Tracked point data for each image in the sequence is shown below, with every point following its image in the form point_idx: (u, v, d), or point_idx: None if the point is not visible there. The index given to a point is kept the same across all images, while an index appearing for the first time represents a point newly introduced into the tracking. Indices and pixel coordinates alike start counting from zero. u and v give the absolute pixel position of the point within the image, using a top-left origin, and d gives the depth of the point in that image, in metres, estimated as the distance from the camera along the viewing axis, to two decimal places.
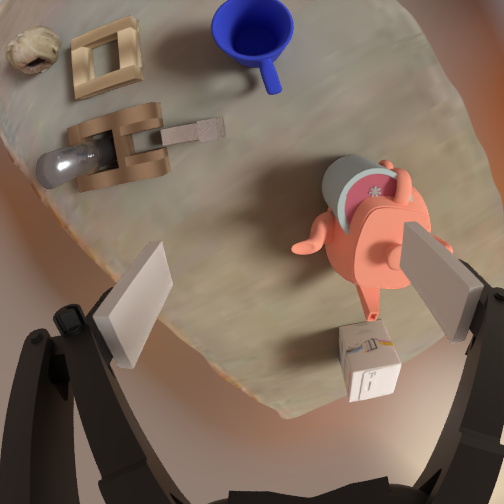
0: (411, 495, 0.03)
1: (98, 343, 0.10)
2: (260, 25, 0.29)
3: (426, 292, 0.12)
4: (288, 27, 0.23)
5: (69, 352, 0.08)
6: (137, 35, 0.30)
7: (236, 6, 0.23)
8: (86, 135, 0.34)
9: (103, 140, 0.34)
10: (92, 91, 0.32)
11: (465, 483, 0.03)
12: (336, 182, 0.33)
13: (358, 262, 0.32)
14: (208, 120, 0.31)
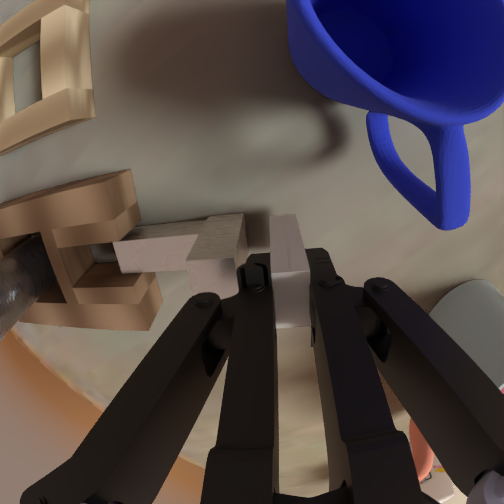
0: None
1: None
2: (362, 8, 0.11)
3: None
4: None
5: (241, 308, 0.10)
6: (84, 21, 0.12)
7: None
8: (4, 235, 0.16)
9: (30, 251, 0.16)
10: (2, 148, 0.14)
11: (380, 487, 0.03)
12: None
13: None
14: (215, 262, 0.13)
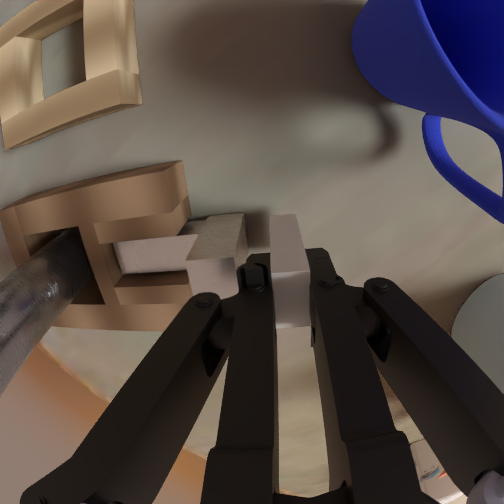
0: None
1: None
2: None
3: None
4: None
5: (241, 308, 0.10)
6: (129, 3, 0.12)
7: None
8: (32, 231, 0.16)
9: (64, 248, 0.16)
10: (32, 134, 0.13)
11: (381, 487, 0.03)
12: (500, 358, 0.15)
13: None
14: (215, 261, 0.13)
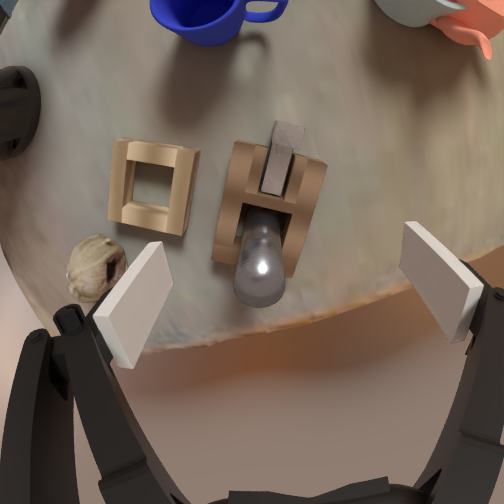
0: (411, 495, 0.03)
1: (98, 343, 0.10)
2: (191, 11, 0.24)
3: (426, 292, 0.12)
4: None
5: (69, 352, 0.08)
6: (142, 141, 0.32)
7: (162, 8, 0.19)
8: (232, 238, 0.34)
9: (250, 218, 0.33)
10: (183, 210, 0.33)
11: (465, 483, 0.03)
12: (412, 0, 0.18)
13: (493, 7, 0.13)
14: (277, 130, 0.26)
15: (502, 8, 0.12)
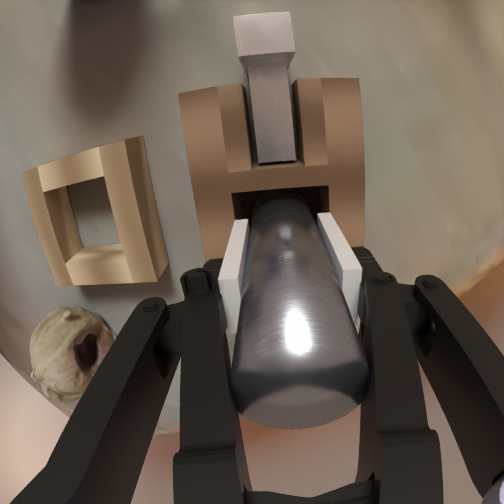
0: None
1: (221, 312, 0.11)
2: None
3: None
4: None
5: (188, 315, 0.09)
6: None
7: None
8: None
9: (255, 217, 0.17)
10: (144, 241, 0.19)
11: (407, 482, 0.03)
12: None
13: None
14: (238, 30, 0.11)
15: None
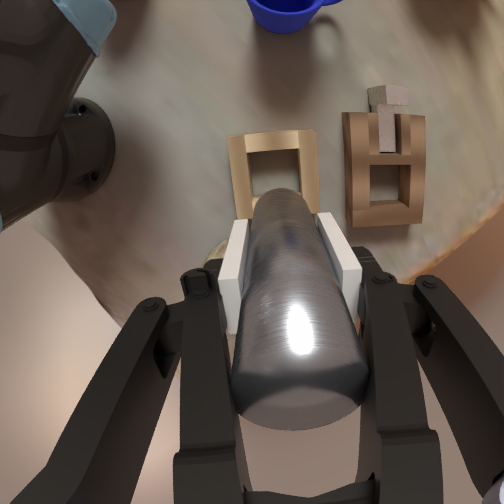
0: None
1: (221, 312, 0.11)
2: None
3: None
4: None
5: (188, 315, 0.09)
6: (252, 133, 0.34)
7: None
8: (368, 200, 0.34)
9: (255, 218, 0.17)
10: (317, 187, 0.34)
11: (407, 482, 0.03)
12: None
13: None
14: (387, 92, 0.25)
15: None
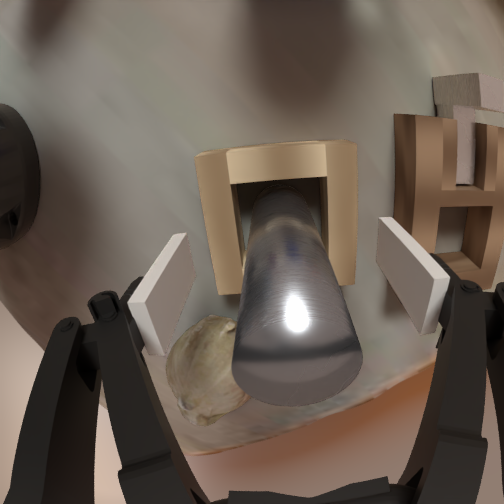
0: (395, 496, 0.04)
1: (132, 331, 0.10)
2: None
3: (398, 285, 0.13)
4: None
5: (101, 338, 0.09)
6: (242, 147, 0.19)
7: None
8: None
9: (255, 212, 0.18)
10: (354, 245, 0.20)
11: (449, 480, 0.03)
12: None
13: None
14: (481, 86, 0.11)
15: None
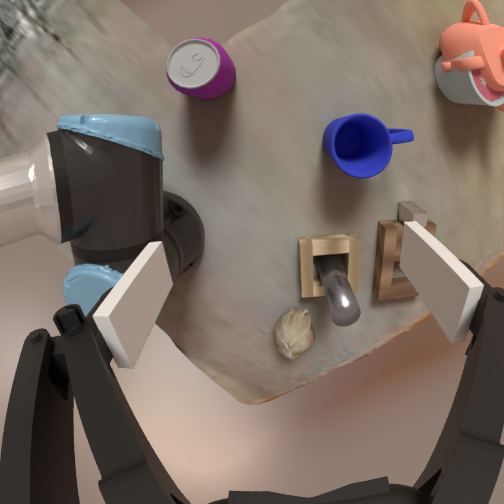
0: (411, 495, 0.03)
1: (98, 343, 0.10)
2: None
3: (426, 292, 0.12)
4: (365, 117, 0.31)
5: (69, 352, 0.08)
6: (315, 237, 0.48)
7: None
8: (390, 283, 0.48)
9: (322, 266, 0.47)
10: (357, 277, 0.49)
11: (465, 483, 0.03)
12: (480, 104, 0.30)
13: None
14: (414, 218, 0.40)
15: None
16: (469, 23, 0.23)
